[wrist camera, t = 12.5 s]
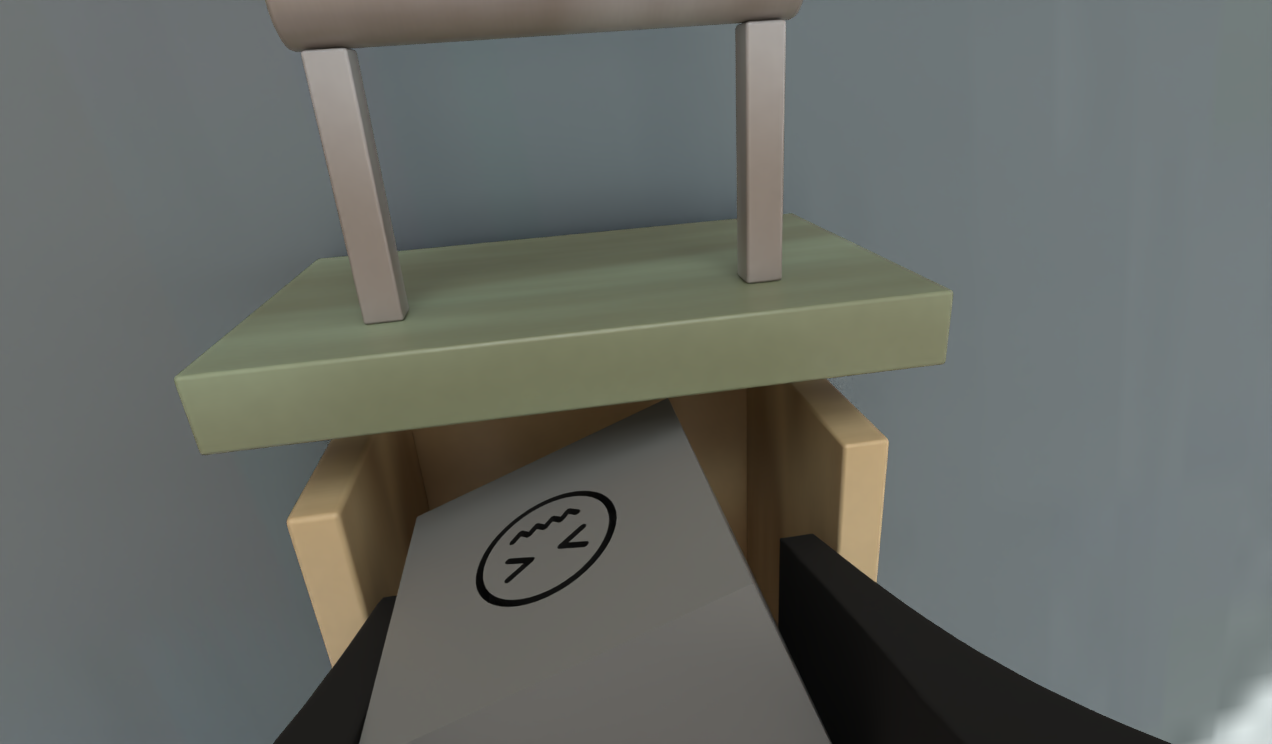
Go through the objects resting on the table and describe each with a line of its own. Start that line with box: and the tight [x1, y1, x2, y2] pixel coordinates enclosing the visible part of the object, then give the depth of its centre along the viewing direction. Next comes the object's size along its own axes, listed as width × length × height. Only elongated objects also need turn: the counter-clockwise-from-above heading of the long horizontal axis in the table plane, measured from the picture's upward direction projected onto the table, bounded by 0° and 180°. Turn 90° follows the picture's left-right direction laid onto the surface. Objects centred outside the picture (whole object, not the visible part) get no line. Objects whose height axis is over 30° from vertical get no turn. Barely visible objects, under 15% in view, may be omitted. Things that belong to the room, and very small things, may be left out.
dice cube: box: [359, 398, 832, 744], centre depth 11 cm, size 5×5×5 cm
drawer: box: [174, 0, 953, 668], centre depth 14 cm, size 18×11×7 cm, turn 4°
